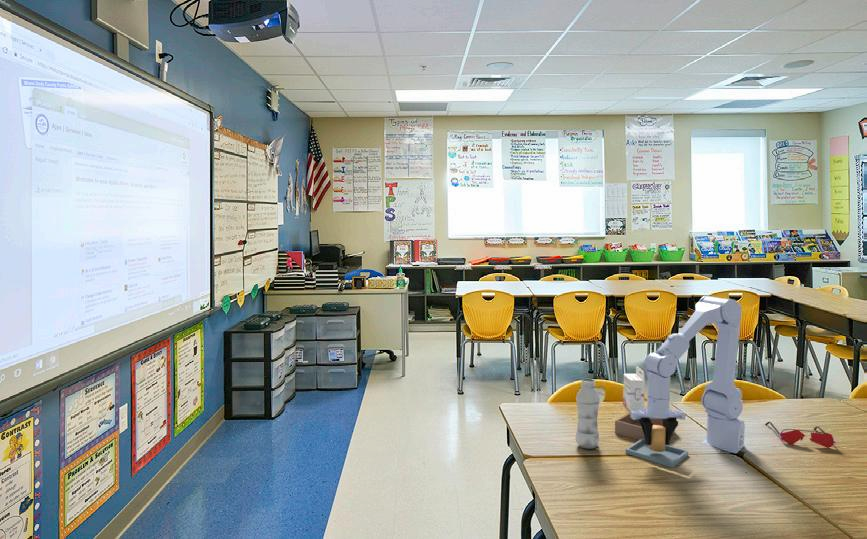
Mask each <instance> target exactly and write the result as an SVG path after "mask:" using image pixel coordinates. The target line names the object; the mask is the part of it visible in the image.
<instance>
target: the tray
mask: <svg viewBox="0 0 867 539" xmlns="http://www.w3.org/2000/svg"><path fill="white" fill-rule="evenodd" d="M625 454H626V455H629V456H633V457H636V458H639V459H642V460H645V461H650V462H652V463H655V464H658V465H662V466H664V467H668V468H670V469H673V468H674V467H676V466H677V465H679V464H680V462H682V461H683V460H684V459H685V458H687V457H688V456H689V450H686V449H682V448H679V447H676V446H672V445H670V444H669V445H666V444H665V451H663V452H656V451H652V450H650V449H649V448H648V445H647V444H646V443H645V439H644V438H642V439H640V440H637V441H636V442H634V443H633V444H630V446H628V447H627V448H625Z"/></svg>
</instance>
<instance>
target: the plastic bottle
mask: <svg viewBox="0 0 867 539" xmlns="http://www.w3.org/2000/svg"><path fill="white" fill-rule="evenodd" d="M580 386H581V388H580V389H579V390H578V392H577V393H576V397H575V399H576V408H577V427H576V428H577V429H576V432H575V441H576V444H577V446H578V447H580V448H583V449H587V450H592V449H597V447H598V446H599V444H600V443H599V442H600V434H599V428H598V425H599V424H598V414H599V413H598V412H599V408H600V407H599V406H600V395H599V393H598V392H597V391H596V390H595V389H596V380H595V379H592V378H588V377H587V378H582V379H581V385H580Z"/></svg>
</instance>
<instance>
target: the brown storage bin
mask: <svg viewBox="0 0 867 539" xmlns="http://www.w3.org/2000/svg"><path fill="white" fill-rule="evenodd" d="M634 411H636V410H634ZM650 420H651V423H652V424H653V425H659V426H663V421H662V419H650ZM614 433H615V434H616V435H621V436H623V437H628V438H632V439H635V440H637V441H639V440H640V439H642V438H644V439H645V437H644V433H643V430H642V427H641V424H640V422H639V420H638V419H637V420H633V419H632V418H631V411H630V412H628V413H626V414H625V415H623V416H621V417H619V418H617V419H616V420H615V421H614ZM674 434H676V429H675V430H674V432H673V434H672V436H673V435H674Z"/></svg>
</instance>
